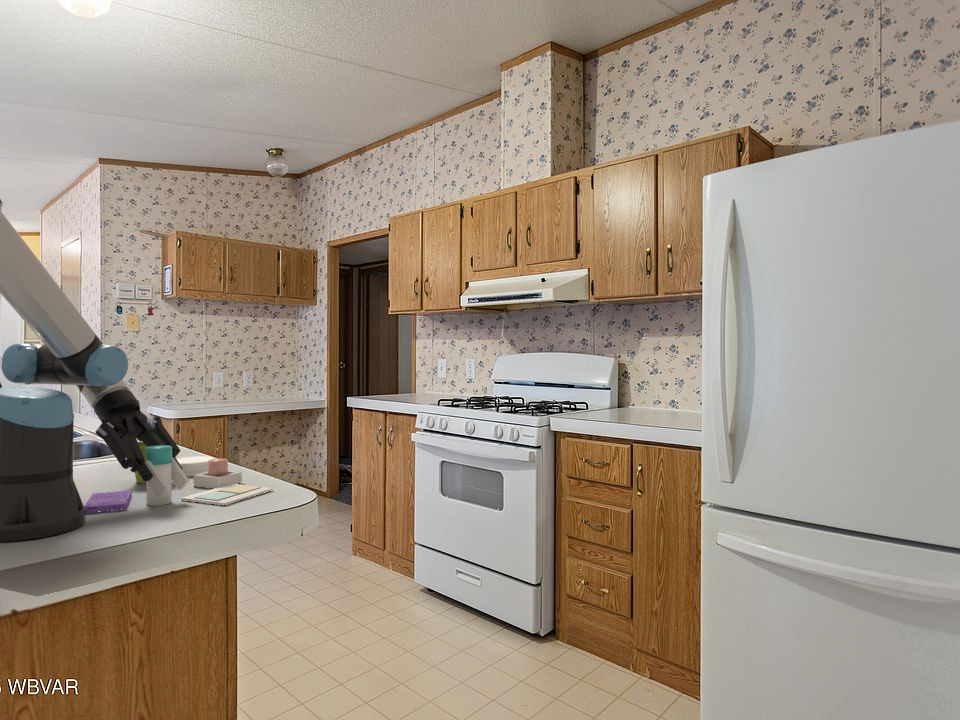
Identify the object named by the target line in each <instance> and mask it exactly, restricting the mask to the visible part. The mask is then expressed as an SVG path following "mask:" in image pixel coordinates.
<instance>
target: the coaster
mask: <svg viewBox="0 0 960 720" xmlns="http://www.w3.org/2000/svg"><path fill="white" fill-rule="evenodd" d="M176 459H177V461H178V462H179V464H180V465H181V466H182V471H183V472H184V473H185V475H186V476H187V478H191V476H194V475H197V474H201V473H205V472H208V461H209V460H211V459H215V458H214V457H212V456H202V455H200V456H199V455H198V456H196V455H195V456H183V457H178V458H176Z"/></svg>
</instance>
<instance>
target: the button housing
mask: <svg viewBox="0 0 960 720" xmlns="http://www.w3.org/2000/svg"><path fill="white" fill-rule="evenodd" d="M240 482H242V483H243V472H242V471H235V470H228V474H227V475H223V476H219V477H217V476H208V472H205V473H201V474H197V475H194V477H193V487H194V486H196V487H195V488H201V487H205V488H204V489H210V488H218V487H222V486H226V485H229V484H236V483H240ZM240 484H241V483H240Z"/></svg>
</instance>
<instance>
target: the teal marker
mask: <svg viewBox="0 0 960 720" xmlns="http://www.w3.org/2000/svg"><path fill="white" fill-rule="evenodd" d="M149 460H150V462H151V463H152V464H153V466H154V467H155V468H156V470H157V471H158V473H159V474H160V476H161V477H162V479H163V480H164V481H165V483H166V484H167V486H168V487H167V488H166V489H165V490H164V492H163V493H162V494H161V495H160V496H157V495H156V494H155V492H154V491H153V490H152V488H151V487H150V485H149V484H148V482H147V481H146V484H145V486H146V487H145V488H146V499H145V500H146V503H145V504H147V505H146V506H148V505H149V507H158V506H159V505H161V506H166V505H165V504H167V505H169V503H170V504H171V503H172V501H173V500H172V495H173V494H172V492H173V491H172V490H173V489H172V488H173V486H172V483H173V481H172V446H168V445H160V446H150V447H146V461H149Z"/></svg>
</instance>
